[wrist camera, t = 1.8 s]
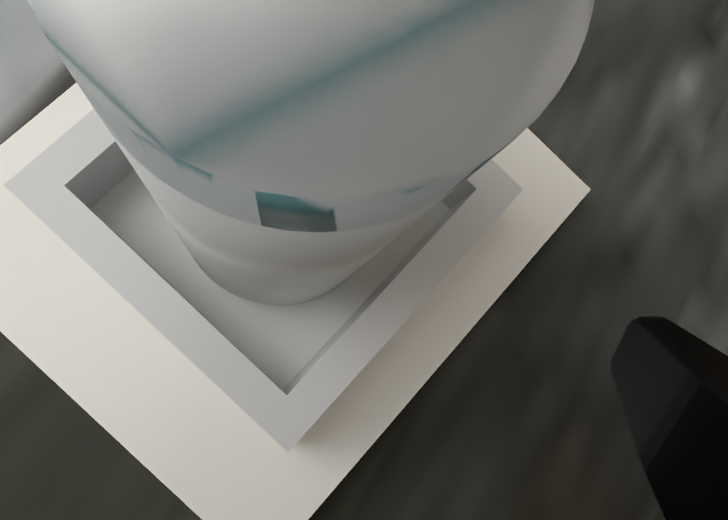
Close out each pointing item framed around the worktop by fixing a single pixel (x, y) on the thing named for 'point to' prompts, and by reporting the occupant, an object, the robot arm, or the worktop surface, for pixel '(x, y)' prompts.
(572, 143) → the worktop surface
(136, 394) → the white square stand
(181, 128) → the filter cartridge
